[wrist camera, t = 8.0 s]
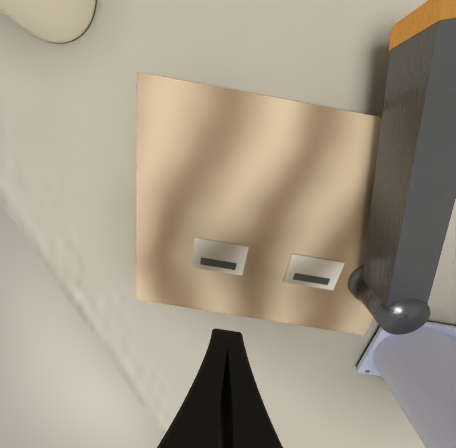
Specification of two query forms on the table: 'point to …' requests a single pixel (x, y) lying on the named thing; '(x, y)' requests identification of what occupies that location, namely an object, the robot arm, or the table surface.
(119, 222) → the table surface
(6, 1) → the beer glass
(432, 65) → the swing bar
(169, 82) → the label board
